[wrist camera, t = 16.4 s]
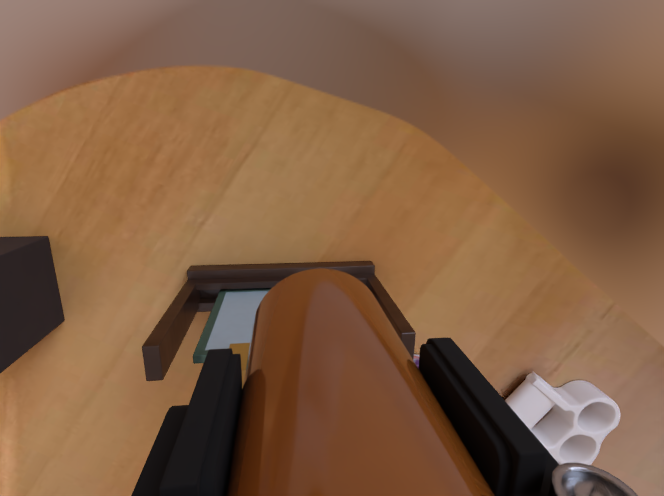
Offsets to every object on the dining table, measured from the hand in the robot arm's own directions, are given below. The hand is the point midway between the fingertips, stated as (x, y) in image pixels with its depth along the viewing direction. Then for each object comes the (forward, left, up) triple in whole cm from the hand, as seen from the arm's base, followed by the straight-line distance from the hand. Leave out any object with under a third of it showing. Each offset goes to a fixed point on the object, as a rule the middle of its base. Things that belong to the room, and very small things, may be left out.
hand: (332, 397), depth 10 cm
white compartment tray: (+27, +28, -26) cm, 47 cm away
